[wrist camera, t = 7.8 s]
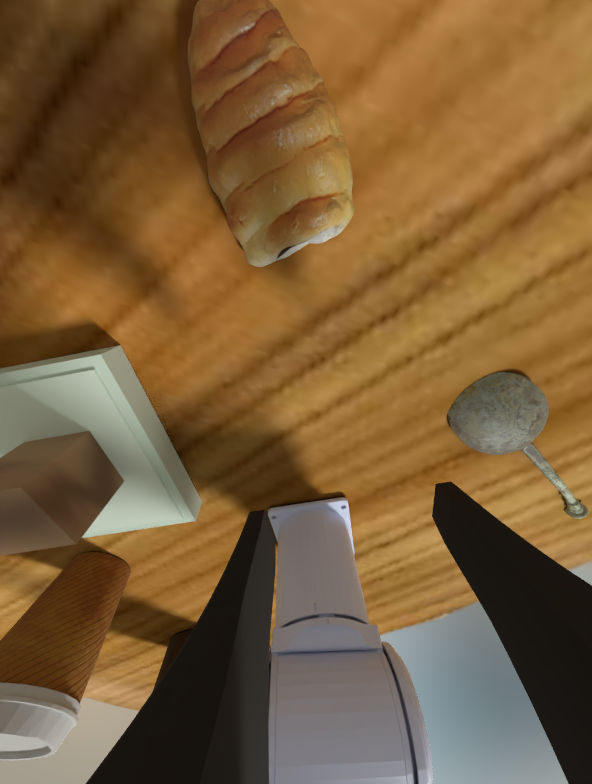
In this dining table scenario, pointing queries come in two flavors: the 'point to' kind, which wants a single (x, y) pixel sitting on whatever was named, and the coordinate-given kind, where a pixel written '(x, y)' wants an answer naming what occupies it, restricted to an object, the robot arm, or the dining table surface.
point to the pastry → (267, 130)
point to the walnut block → (53, 491)
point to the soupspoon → (507, 423)
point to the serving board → (102, 432)
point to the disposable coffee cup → (56, 655)
